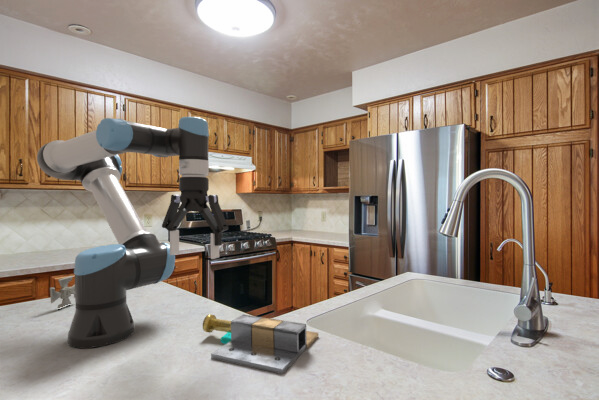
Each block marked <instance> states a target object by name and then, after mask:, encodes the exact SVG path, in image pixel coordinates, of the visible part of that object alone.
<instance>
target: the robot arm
mask: <svg viewBox="0 0 599 400" xmlns="http://www.w3.org/2000/svg"><path fill="white" fill-rule="evenodd" d="M209 136H210V134H209V124H208V121H207V120H206V119H204V118H202V117H197V116H183V117H180V118H179V120H178V127H175V128H163V127H158V126H154V125H148V124H144V123H139V122H134V121H129V120H125V119H121V118H110V117H106V118H102V119H101V120H100V122H99V123H98V124H97V126H96V129H95V130H92V131H89V132H86V133H84V134H80V135H78V136H75V137H72V138H70V139H67V140H60V139H57V140H52V141H50V142H47V143H45V144H43V145H42V146H41V147H40V149H39V150H38V151H37V155H36V160H37V161H36V162H37V164H38V166H39V167H38V168H40V170H41V171H42V172H44V174H46V175H47V176H50V177H51V178H54V179H57V180H61V181H79V182H80V183H81V185H82V187H83V188H84V190H86V191H87V192H88V191H89V192H91V193H92V196H93V197H94V199H95V201H96V203H97V205H98V206H99V208H100V210H101V212H102V214H103V216H104V218H105V220H106V222H107V225H108V226H109V228H110V230H111V231H112V234H113V235H114V237H115V239H116V241H117V243H114V244H113V243H112V244H107V245H100V246H95V247H91V248H88V249H84V250H82V251H81V252H79V253H78V254H77V255H76V256H75V259H74V267H73V268H74V269H73V274H74V285H75V298H74V299H75V301H74V302H75V311H74V315H73V317H72V321H71V324H70V327H69V330H68V332H67V344H68V346H70V347H72V348H77V349H79V348H80V349H87V348H88V349H89V348H97V347H103V346H109V345H111V344H114V343H117V342H120V341H123V340H124V339H127V338H129V337H130V336H132V334H134V333H135V321H134V319H133V316H132V314H131V311H130V308H129V305H128V304H127V291H129V290H133V289H137V288H141V287H146V286H149V285H153V284H154V285H155V284H158V283H159V282H163V281H166V280H167V279H168V278H170V276H171V275H172V274H173V273H174V269H175V263H176V255H179V254H180V230H179V229H178V228H179V226H180V224H181V223H182V221H183V220H184V218H185V217H186V216H187V214H188V213H189V212H193V213H199V214H200V215H201V216H202V218H203V219H204V221H206V224H208V227H209V228H210V229H211V230H212V232H210V259H211V260H215V259H218V258H220V246H222V242H223V241H222V240H223V239H222V235H223V232H225V231H228V230H229V225H228V223H227V220H226V218H225V215H224V213H223V210H222V208H221V206H220V204H219V196H218V195H217V194H209V195H208V191H209V189H210V188H209V178H208V177H207V176H209V175H210V171H209V170H210V169H209V167H210V166H209V162H210V161H209V138H210V137H209ZM125 153H126V154H127V153H134V154H135V153H136V154H144V155H152V156H153V157H156V158H168V157H178V166H179V167H178V170H179V171H178V174H179V176H181V177H179V179H178V190H179V192H180V194H171V196H170V203H169V206H168V208H167V211H166V214H165V217H164V218H163V221H162V224H161V228H163V229H166V230H167V232H168V233H167V239H168V240H167V241H168V242H169V243H167V242H163V241H162V242H160V241H159V239H158V238H157V236H156V235H155V233H154V232H149V231H147V229H146V228H145V226H144V223H143V222H142V220H141V219H140V217H139V215H138V213H137V211H136V210H135V207H134V206H133V204H132V203H131V201H130V198H129V197H128V194H126V192H125V189H124V188H123V186H122V185H121V182H120V179H121V176H122V174H123V166H122V165H123V163H122V159H121V158H120V156H119V155H122V154H125ZM207 203H208V204H207Z"/></svg>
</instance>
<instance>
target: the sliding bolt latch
mask: <svg viewBox="0 0 599 400" xmlns="http://www.w3.org/2000/svg"><path fill="white" fill-rule="evenodd" d="M230 321H231V341H230V342H228V343H227V344H223V345H222V346H221V347H220V348H218V349H216V350H215V351H213V352H212V353H210V356H211V359H213V360H218V361H223V362H227V363H231V364H236V365H239V366H240V365H241V366H245V367H249V368H253V369H258V370H262V371H267V372H270V373H271V372H272V373H276V374H280V375H284V374H285V372H286V371H287V370H288V369H289V368H290V367H291V366H292V365H293V364H294V363H295V362H296V361H297V360H298V359H299V357H300V356H301V355H302V354H303V353H304V352H305V351H306V350H307V349H309V348H310V346H311V345H312V344H313V343H314V342H315V341H316V340H317V339H318V338H319V332H315V331H308V330H307V324H306V323H302V322H295V321H289V320H281V319H274V318H268V317H262V316H255V315H248V314H241V315H239V316H238V317H236V318H234V319H233V320H230Z"/></svg>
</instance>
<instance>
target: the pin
mask: <svg viewBox="0 0 599 400" xmlns="http://www.w3.org/2000/svg"><path fill="white" fill-rule="evenodd" d="M231 321H232V320H226V319H221V318H217V317H216V315H215V314H210V313H209V314H207V315H206V316H205V317H204V319H203V321H202V330H203V332H205V333H209V334H210V333H213V331H217V332H223V333H231Z"/></svg>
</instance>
